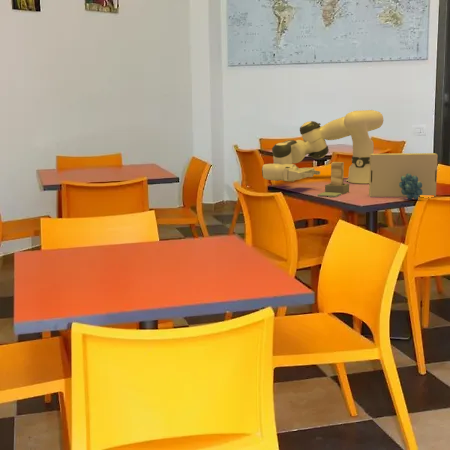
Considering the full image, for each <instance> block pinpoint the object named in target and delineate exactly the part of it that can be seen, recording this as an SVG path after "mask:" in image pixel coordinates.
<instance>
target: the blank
mask: <svg viewBox="0 0 450 450" xmlns="http://www.w3.org/2000/svg"><path fill="white" fill-rule="evenodd" d="M344 165H345V162H344V161H333V162H331V165H330V167H331V168H330V170H331V172H330V183H331V185H340V186H342V185H343V184H344V175H345V174H344V173H345V172H344V171H345V170H344V168H345V166H344Z"/></svg>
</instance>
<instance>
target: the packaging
mask: <svg viewBox="0 0 450 450" xmlns="http://www.w3.org/2000/svg"><path fill="white" fill-rule="evenodd" d="M438 156H439V155H438V154H437V153H434V152H427V153H426V152H425V153H424V152H423V153H422V152H420V153H419V152H418V153H417V152H415V153H413V152H412V153H411V152H408V153H405V152H404V153H373V154H370V169H369V183H368V196H369V197H370V198H407V195H403V194H402V192H401V190H402V188H400V186H399V183H400V182H402V181H401V177H402V176H405V177H406V174H408V173H409V174H411V175H412V176H414V175H415V176H417V177H418V181H419V182H421V183H422V187H421V188H420V189H422V191H423V193H422V195H434V196H436V197H437V182H438V181H437V178H438ZM418 181H417V182H418ZM419 196H420V195H419Z"/></svg>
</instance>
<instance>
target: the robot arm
mask: <svg viewBox="0 0 450 450" xmlns="http://www.w3.org/2000/svg"><path fill="white" fill-rule="evenodd" d="M383 124H384V116H383V113H381V112H380V111H377V110H373V109H371V110H370V109H368V110H367V109H364V110H363V109H362V110H361V109H360V110H352V111H349V112H348V113H346V114H345V116H342V117H339V118H336V119H333V120H331V121H329V122H327V123H325V124H324V125H322V126H321V123H319V122H317V121H313V120H310V121H307V122H306V121H305V122H304V123H303V124H301V126H300V127H299V133H300V135H301V137H302V139H296V140H294V139H293V140H292V139H290V140H289V139H288V140H284V141H282V142H278V143H275V144H273V147H272V148H271V151H272V152H271V153H272V155H273V156H272V159H273V163H265V164H263V165H262V166H261V176H262V178H263V179H264V180H268V181H277V182H278V181H284V182H295V181H297V180H301V179H305V178H313V177H314V175H316V176H317V175H318V176H319V175H321V171H320V170H316V169H315V168H313V167H300V168H299V166H297V165H296V164H298V163H301V162H302V161H303V160H304V159H305V157H306V155H307V156H308V158H310V157H311V158H312V159H315V160H318V159H323V158H324V157H325V156H327V154H328V153H329V151H330V149H329V146H328V144H327V142H326V141H336V140H341V139H344V138H346V137H351V141H352V156H351V163H352V164H350V166H349V167H348V178H347V179H345V182H347V181H348V183H352V184H369V169H370V154H374V148H375V147H374V141H373V140H372V139H371V138H370V136H369V132H370V131H375V130H377V129H380V128H381V127H382V126H383Z"/></svg>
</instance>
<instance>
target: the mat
mask: <svg viewBox="0 0 450 450" xmlns="http://www.w3.org/2000/svg"><path fill="white" fill-rule="evenodd" d="M341 194H342V193H332V192H325V191H324V192H321V193H318V194H317V197H321V196H328V197H327V198H337V197H340V196H342V195H343V194H342V195H341ZM339 195H340V196H339Z"/></svg>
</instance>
